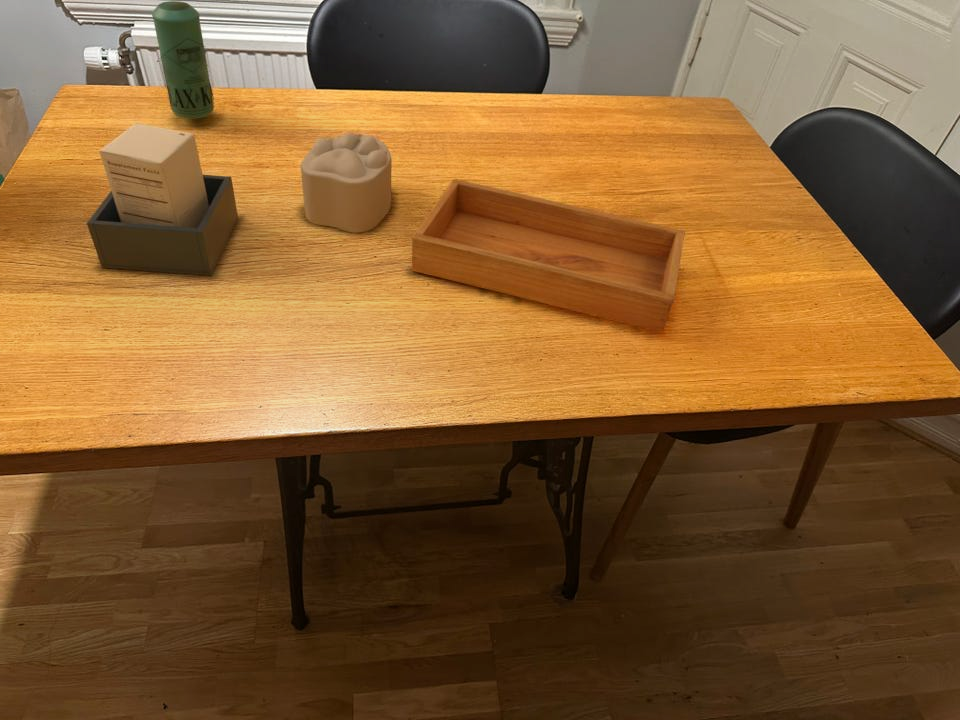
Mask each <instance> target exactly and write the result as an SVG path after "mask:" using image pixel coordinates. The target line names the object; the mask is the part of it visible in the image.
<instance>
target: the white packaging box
mask: <svg viewBox="0 0 960 720" xmlns="http://www.w3.org/2000/svg"><path fill="white" fill-rule="evenodd" d="M195 136H196V135H195V134H194V133H191V132H187V131H183V130H177V129H172V128H166V127H162V126H161V127H160V126H155V125H149V124H144V123H138V122H137V123H136V122H135V123H133V124H132V125H131V126H129V127H128V128H127V129H126V130H124V131H123V132H122V133H120V134H119V135H118V136H117V137H115V138H114V139H113V140H111V141H109V143H107V144H106V145H104V146H103V147H102V148H100V149H99V150H98V152H99V154H100V158H101V161H102V165H103V167H104V171H105V175H106V177H107V180H108V185H109V187H110V192H111V191H112V194H113V197H114V200H115V204H116V207H117V210H118V213H119V217H120V220H121V222H122V223H134V224H147V225H160V226H173V227H186V228H197V229H198V227H199V225H200V223H201V221H202V219H203V218H204V216H205V214H206V212H207V210H208V208H209V204H208V199H207V194H206V189H205V184H204V179H203V175H204V174H203V171H202V166H201V160H200V156H199V151H198V146H197V141H196V137H195ZM202 174H203V175H202Z"/></svg>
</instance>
